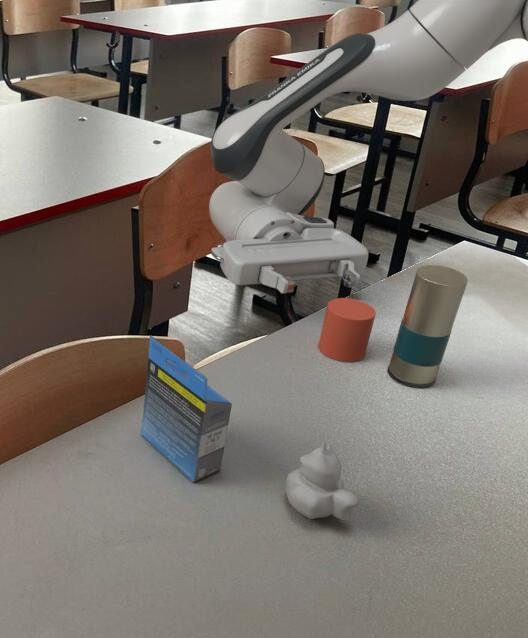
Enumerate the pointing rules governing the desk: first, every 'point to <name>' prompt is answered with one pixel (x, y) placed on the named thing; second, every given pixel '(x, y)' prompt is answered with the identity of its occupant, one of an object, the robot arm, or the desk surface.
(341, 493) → the grey animal figurine
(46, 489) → the desk surface
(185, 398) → the tape cartridge
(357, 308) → the cap
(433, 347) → the spray can
